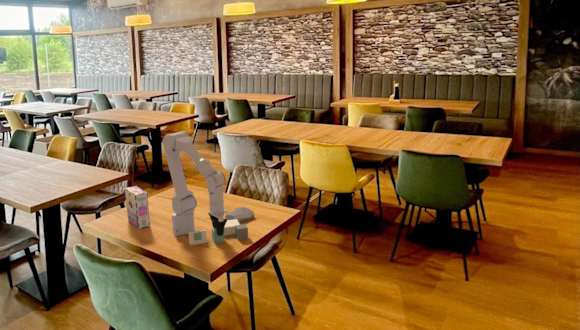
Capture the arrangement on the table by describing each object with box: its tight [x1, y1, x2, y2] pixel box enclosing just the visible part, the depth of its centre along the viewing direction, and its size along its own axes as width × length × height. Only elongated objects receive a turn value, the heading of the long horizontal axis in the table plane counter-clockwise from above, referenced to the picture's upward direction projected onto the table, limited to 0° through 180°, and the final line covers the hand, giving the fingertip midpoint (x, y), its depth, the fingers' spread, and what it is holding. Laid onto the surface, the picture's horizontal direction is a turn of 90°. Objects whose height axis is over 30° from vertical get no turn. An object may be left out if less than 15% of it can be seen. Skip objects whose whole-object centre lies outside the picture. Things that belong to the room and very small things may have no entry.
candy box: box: [124, 185, 151, 230], centre depth 214 cm, size 14×6×16 cm, turn 37°
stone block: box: [224, 206, 255, 223], centre depth 222 cm, size 12×5×10 cm
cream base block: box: [224, 219, 241, 236], centre depth 207 cm, size 8×8×4 cm
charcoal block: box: [234, 223, 249, 241], centre depth 200 cm, size 4×4×5 cm
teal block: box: [211, 227, 226, 244], centre depth 197 cm, size 4×4×5 cm
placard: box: [188, 229, 208, 246], centre depth 195 cm, size 7×3×5 cm, turn 111°
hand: (218, 231), depth 197 cm, fingers open, 7 cm apart
